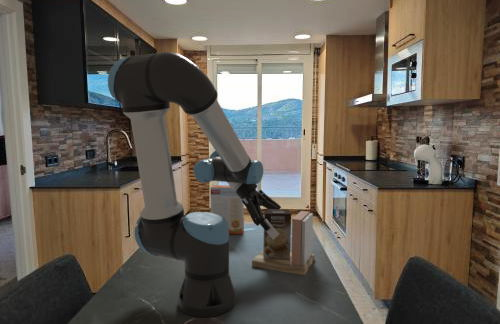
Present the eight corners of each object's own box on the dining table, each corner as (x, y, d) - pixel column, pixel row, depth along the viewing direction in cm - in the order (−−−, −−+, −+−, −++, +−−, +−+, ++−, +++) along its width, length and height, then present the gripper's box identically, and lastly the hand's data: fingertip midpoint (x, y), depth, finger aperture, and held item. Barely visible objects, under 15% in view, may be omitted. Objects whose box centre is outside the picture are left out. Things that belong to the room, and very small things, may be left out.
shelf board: (304, 275, 106) (304, 269, 106) (252, 266, 113) (252, 260, 113) (314, 259, 119) (314, 253, 119) (266, 251, 126) (266, 246, 126)
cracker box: (244, 230, 151) (244, 185, 149) (242, 235, 145) (242, 187, 143) (213, 229, 153) (213, 184, 150) (210, 234, 147) (210, 186, 144)
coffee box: (263, 259, 113) (263, 213, 112) (263, 252, 120) (263, 208, 118) (290, 260, 113) (291, 213, 111) (289, 252, 119) (289, 208, 118)
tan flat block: (300, 265, 108) (301, 219, 106) (291, 263, 109) (292, 218, 107) (308, 253, 118) (309, 211, 116) (300, 252, 119) (301, 210, 117)
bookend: (304, 267, 107) (305, 221, 106) (292, 265, 109) (292, 220, 107) (312, 255, 117) (312, 213, 116) (300, 253, 119) (301, 212, 117)
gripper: (250, 185, 132) (286, 227, 128) (219, 198, 109) (262, 249, 105) (262, 173, 129) (299, 215, 125) (234, 183, 107) (278, 235, 102)
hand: (282, 231), depth 115 cm, fingers open, 13 cm apart
